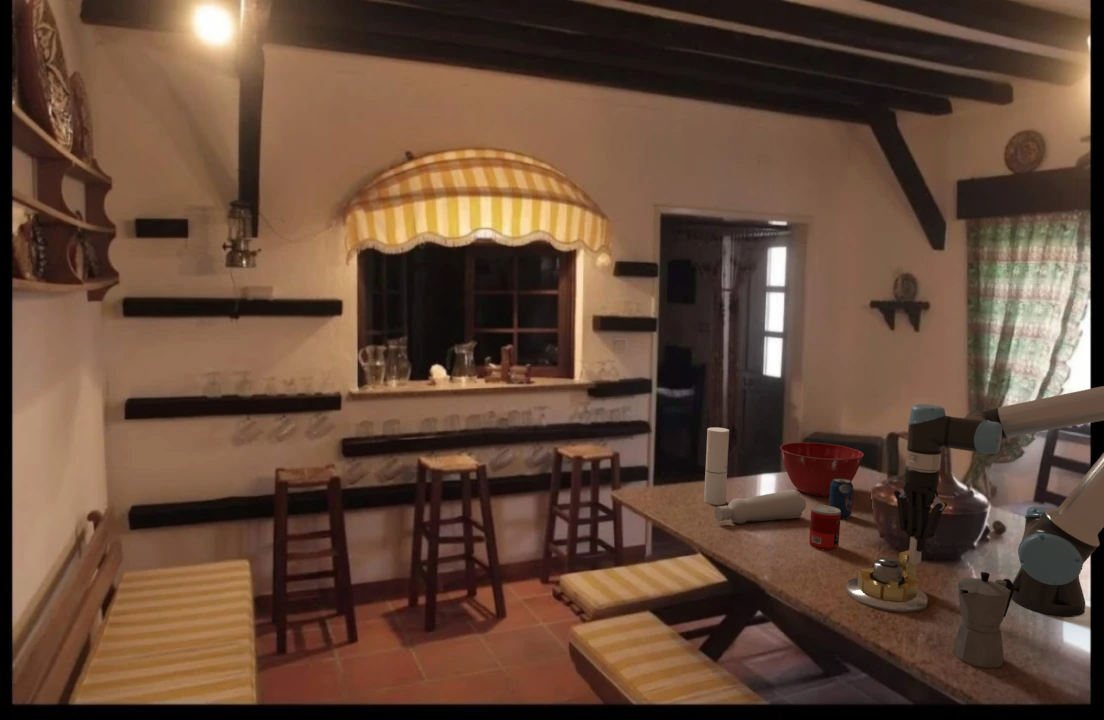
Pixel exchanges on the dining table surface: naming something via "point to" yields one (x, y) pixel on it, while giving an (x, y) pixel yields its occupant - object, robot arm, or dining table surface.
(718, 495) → the cylindrical container
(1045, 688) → the dining table surface
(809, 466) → the mixing bowl
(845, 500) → the soda can
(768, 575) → the dining table surface
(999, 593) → the coffeepot
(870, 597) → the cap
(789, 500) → the bottle
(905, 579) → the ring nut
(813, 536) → the canned food
